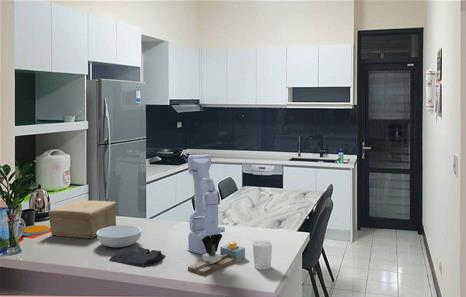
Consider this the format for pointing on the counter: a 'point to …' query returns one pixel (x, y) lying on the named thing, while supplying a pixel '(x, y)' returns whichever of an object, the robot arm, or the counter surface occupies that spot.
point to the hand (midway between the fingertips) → (211, 252)
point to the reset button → (232, 245)
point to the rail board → (211, 265)
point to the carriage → (212, 256)
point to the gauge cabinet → (233, 252)
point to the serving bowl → (119, 235)
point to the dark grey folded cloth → (137, 257)
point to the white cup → (262, 254)
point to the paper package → (82, 218)
